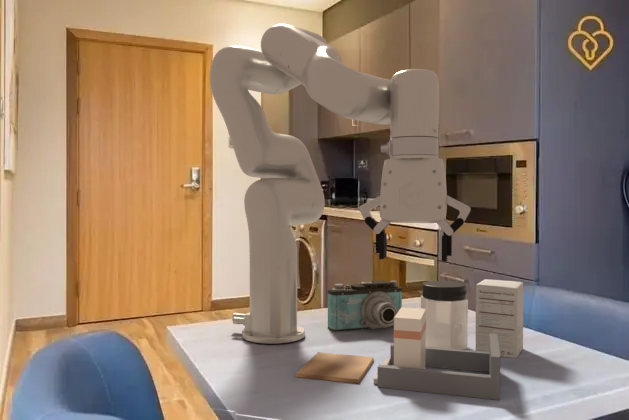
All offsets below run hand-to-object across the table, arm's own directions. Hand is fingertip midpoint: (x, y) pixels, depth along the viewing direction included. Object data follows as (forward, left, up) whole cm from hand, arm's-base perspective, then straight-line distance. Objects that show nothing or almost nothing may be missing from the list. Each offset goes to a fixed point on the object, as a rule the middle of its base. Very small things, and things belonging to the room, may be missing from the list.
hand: (413, 259), depth 85 cm
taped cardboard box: (0, 0, -18) cm, 18 cm away
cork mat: (-12, 0, -18) cm, 22 cm away
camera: (-12, +26, -19) cm, 34 cm away
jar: (+4, +19, -19) cm, 27 cm away
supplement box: (+14, +19, -19) cm, 30 cm away
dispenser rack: (+4, 0, -18) cm, 19 cm away
